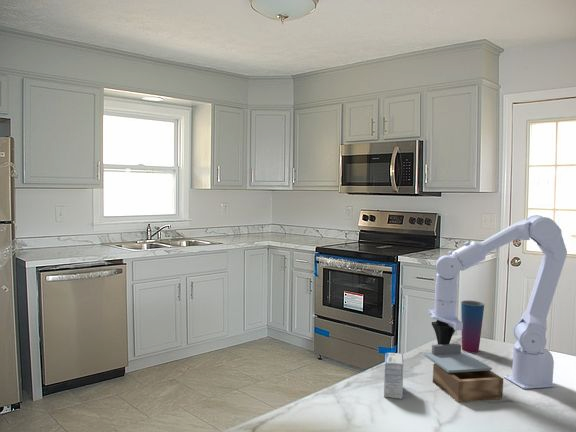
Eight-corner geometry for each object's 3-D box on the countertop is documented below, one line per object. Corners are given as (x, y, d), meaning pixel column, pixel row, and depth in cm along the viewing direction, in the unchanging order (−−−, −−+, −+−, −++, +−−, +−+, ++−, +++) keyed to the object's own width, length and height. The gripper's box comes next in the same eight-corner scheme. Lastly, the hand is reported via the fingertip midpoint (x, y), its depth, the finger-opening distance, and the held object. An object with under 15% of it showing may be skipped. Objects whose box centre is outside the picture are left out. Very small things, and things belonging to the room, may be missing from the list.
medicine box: (402, 399, 120) (403, 364, 119) (383, 397, 121) (384, 362, 120) (401, 386, 127) (403, 353, 127) (383, 384, 128) (385, 351, 128)
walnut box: (473, 379, 133) (474, 361, 133) (502, 398, 122) (503, 378, 121) (432, 382, 131) (433, 363, 130) (457, 402, 119) (458, 381, 119)
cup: (460, 352, 155) (463, 304, 154) (457, 345, 162) (459, 299, 161) (483, 354, 154) (486, 306, 153) (479, 347, 160) (481, 301, 159)
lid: (464, 354, 138) (465, 343, 138) (491, 370, 126) (492, 358, 126) (424, 356, 135) (425, 345, 135) (448, 372, 123) (448, 361, 123)
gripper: (419, 294, 143) (417, 340, 144) (446, 306, 129) (443, 358, 129) (442, 293, 144) (439, 339, 145) (470, 306, 130) (468, 357, 131)
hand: (443, 348), depth 137 cm, fingers closed
